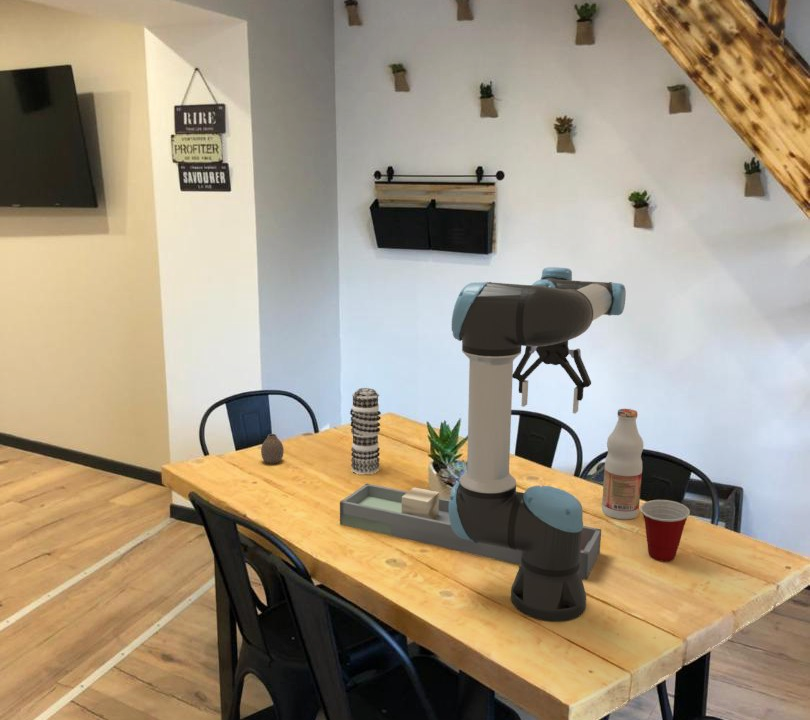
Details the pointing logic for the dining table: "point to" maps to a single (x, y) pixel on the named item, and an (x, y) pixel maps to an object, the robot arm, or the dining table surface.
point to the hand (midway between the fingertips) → (549, 408)
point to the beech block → (421, 503)
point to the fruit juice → (623, 468)
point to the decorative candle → (365, 431)
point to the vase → (272, 449)
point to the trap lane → (436, 526)
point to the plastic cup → (664, 527)
